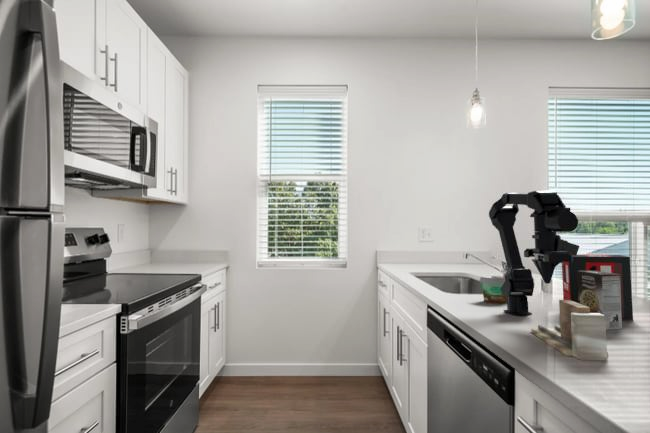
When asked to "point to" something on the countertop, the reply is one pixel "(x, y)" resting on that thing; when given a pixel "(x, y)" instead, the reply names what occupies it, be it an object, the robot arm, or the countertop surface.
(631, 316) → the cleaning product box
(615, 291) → the coffee box
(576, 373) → the countertop surface
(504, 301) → the food container
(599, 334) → the track
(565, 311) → the door
